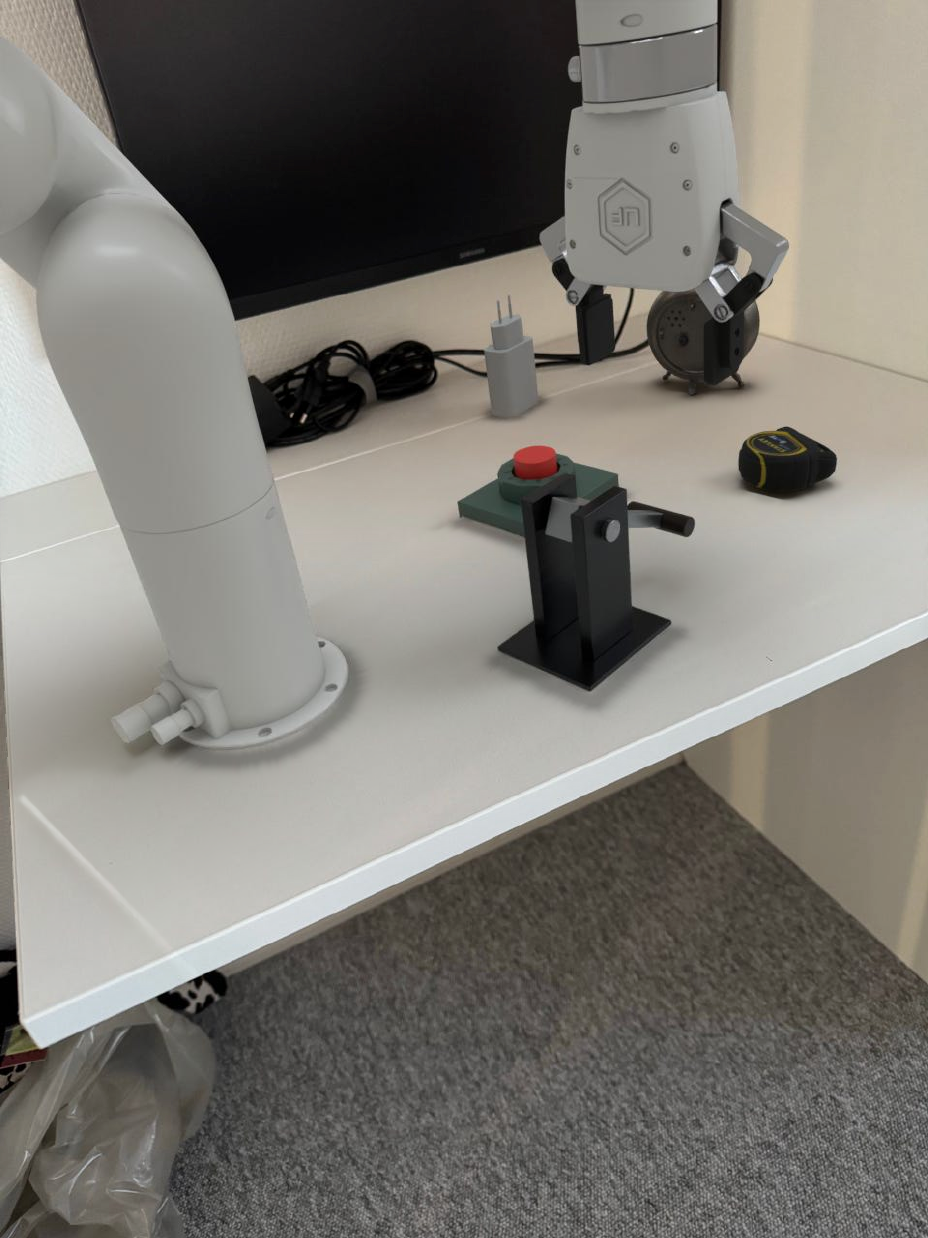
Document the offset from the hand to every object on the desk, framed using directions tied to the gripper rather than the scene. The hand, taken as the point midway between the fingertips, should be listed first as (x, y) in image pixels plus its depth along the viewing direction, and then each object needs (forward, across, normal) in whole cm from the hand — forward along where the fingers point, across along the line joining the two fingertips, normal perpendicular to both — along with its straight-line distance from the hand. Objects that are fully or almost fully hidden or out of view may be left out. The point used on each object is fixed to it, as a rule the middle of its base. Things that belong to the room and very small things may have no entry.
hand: (657, 367), depth 62 cm
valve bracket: (+16, +1, -11) cm, 19 cm away
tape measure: (+16, 0, +18) cm, 25 cm away
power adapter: (+16, -33, +21) cm, 42 cm away
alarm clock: (+17, -18, +34) cm, 42 cm away
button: (+13, -15, +4) cm, 20 cm away
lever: (+9, +1, -7) cm, 12 cm away
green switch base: (+16, -15, +4) cm, 22 cm away
